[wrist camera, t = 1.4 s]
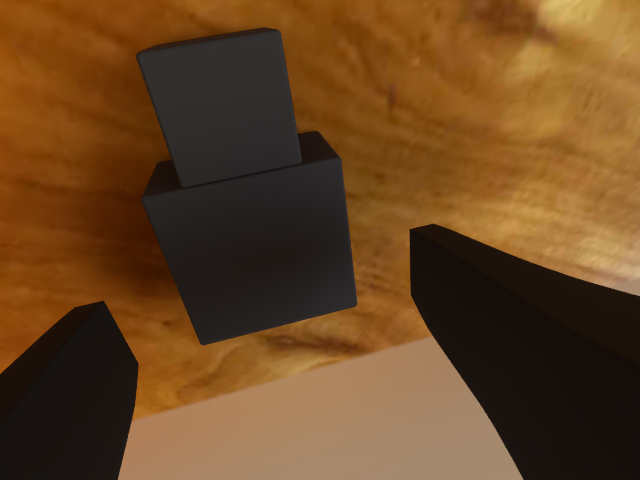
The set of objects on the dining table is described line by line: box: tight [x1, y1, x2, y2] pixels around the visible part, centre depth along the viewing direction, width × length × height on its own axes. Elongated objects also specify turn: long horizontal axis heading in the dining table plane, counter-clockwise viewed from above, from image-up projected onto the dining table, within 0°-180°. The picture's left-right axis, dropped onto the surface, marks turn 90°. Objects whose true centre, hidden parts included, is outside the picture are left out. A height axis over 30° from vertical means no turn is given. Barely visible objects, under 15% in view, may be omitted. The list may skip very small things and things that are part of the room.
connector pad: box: [136, 27, 357, 345], centre depth 11 cm, size 8×5×3 cm, turn 8°
